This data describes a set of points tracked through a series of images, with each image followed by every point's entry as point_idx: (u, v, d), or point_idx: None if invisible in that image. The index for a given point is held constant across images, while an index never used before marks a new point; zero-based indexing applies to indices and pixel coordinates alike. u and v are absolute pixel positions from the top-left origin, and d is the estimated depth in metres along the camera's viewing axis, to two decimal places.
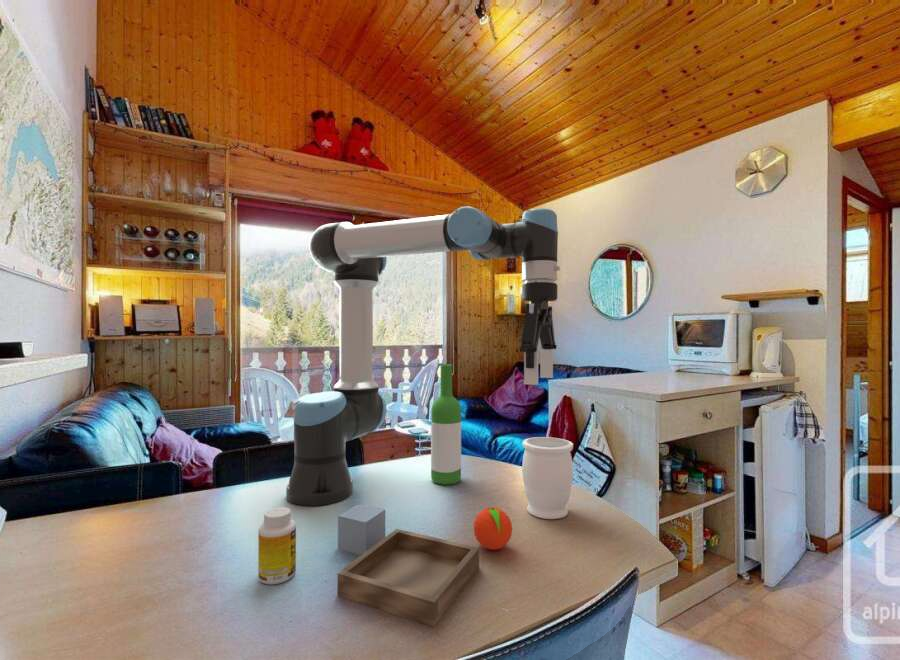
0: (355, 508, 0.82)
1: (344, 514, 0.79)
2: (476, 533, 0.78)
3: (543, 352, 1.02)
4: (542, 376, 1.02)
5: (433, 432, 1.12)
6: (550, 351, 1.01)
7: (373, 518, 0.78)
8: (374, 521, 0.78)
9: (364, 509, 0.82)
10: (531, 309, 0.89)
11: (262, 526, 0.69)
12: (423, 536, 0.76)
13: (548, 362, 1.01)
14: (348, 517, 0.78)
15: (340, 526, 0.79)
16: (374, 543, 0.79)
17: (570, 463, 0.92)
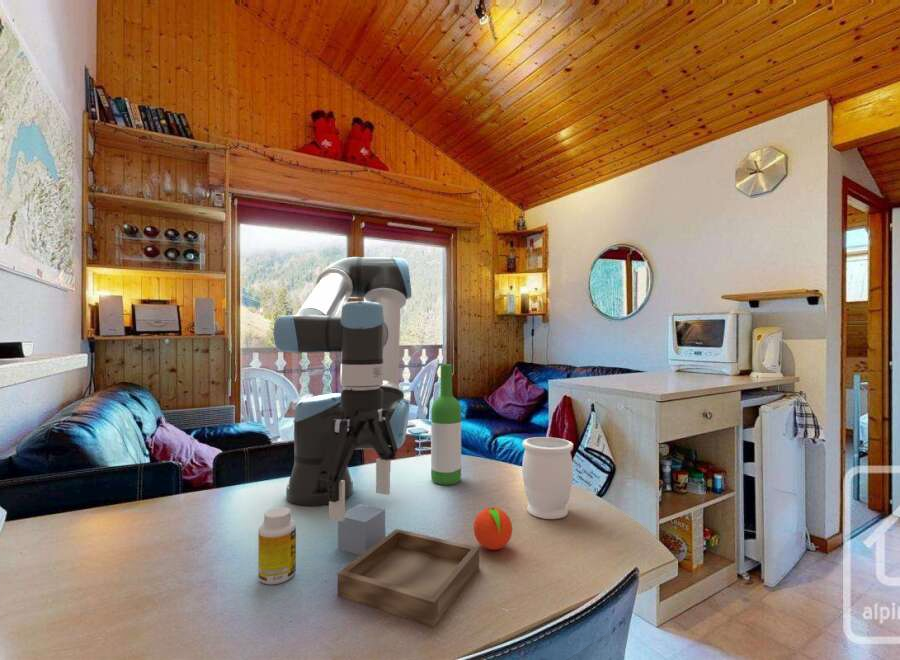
0: (355, 508, 0.82)
1: None
2: (476, 533, 0.78)
3: (379, 463, 0.86)
4: (378, 491, 0.86)
5: (433, 432, 1.12)
6: (386, 462, 0.85)
7: (373, 518, 0.78)
8: (374, 521, 0.78)
9: (364, 509, 0.82)
10: (337, 427, 0.74)
11: (262, 526, 0.69)
12: (423, 536, 0.76)
13: (384, 475, 0.85)
14: (348, 517, 0.78)
15: (340, 526, 0.79)
16: (374, 543, 0.79)
17: (570, 463, 0.92)
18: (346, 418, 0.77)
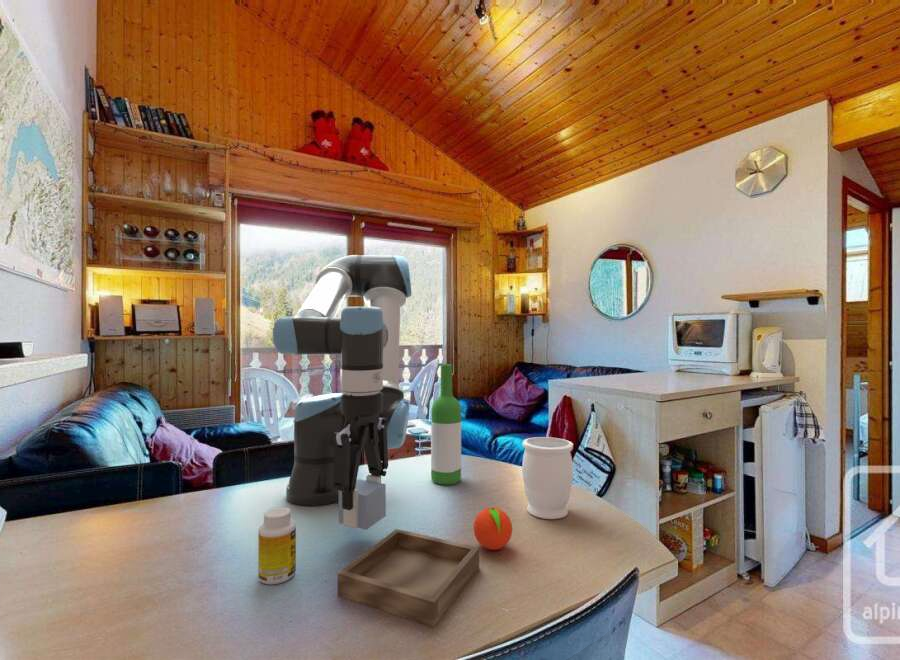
0: (356, 483, 0.82)
1: None
2: (476, 533, 0.78)
3: (369, 480, 0.84)
4: None
5: (433, 432, 1.12)
6: (376, 480, 0.83)
7: (373, 492, 0.79)
8: (374, 495, 0.79)
9: (365, 483, 0.82)
10: (339, 442, 0.74)
11: (262, 526, 0.69)
12: (423, 536, 0.76)
13: None
14: None
15: (340, 500, 0.79)
16: (375, 517, 0.79)
17: (570, 463, 0.92)
18: (345, 425, 0.77)
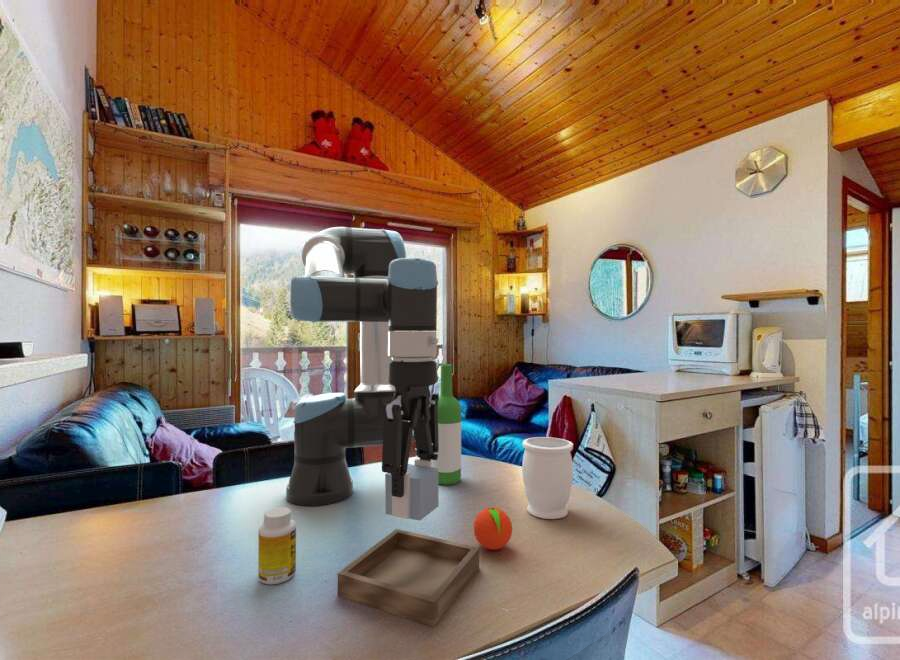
0: None
1: None
2: (476, 533, 0.78)
3: (418, 465, 0.72)
4: None
5: None
6: (427, 464, 0.71)
7: (426, 476, 0.67)
8: (428, 480, 0.67)
9: (414, 468, 0.70)
10: (389, 414, 0.63)
11: (262, 526, 0.69)
12: (423, 536, 0.76)
13: None
14: None
15: (388, 486, 0.67)
16: (428, 506, 0.67)
17: (570, 463, 0.92)
18: (395, 397, 0.65)
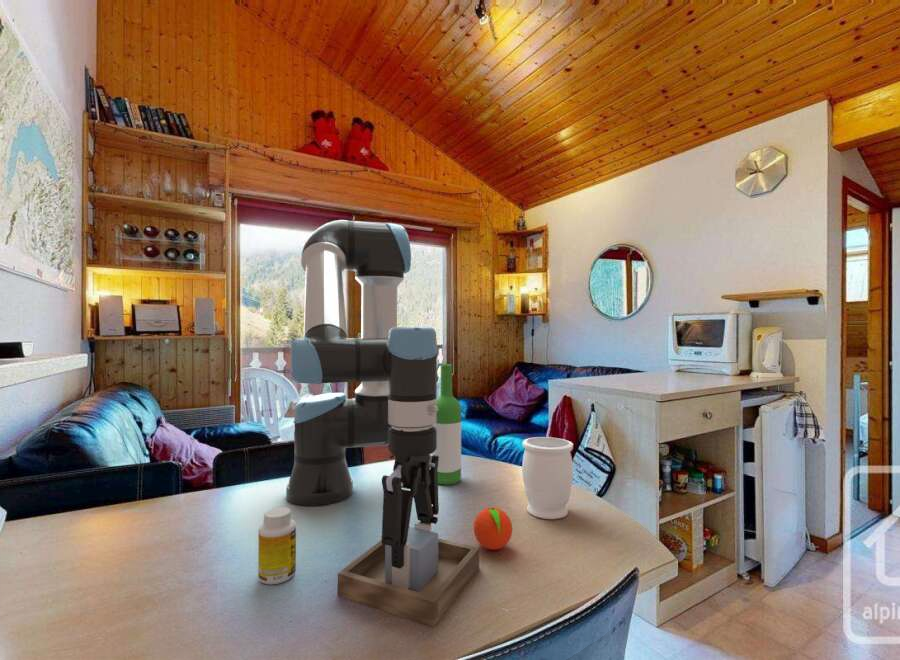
0: None
1: None
2: (476, 533, 0.78)
3: (418, 528, 0.72)
4: None
5: None
6: (427, 528, 0.71)
7: (426, 544, 0.67)
8: (427, 548, 0.67)
9: (414, 532, 0.70)
10: (389, 487, 0.63)
11: (262, 526, 0.69)
12: None
13: None
14: None
15: (388, 554, 0.67)
16: (428, 574, 0.67)
17: (570, 463, 0.92)
18: (395, 467, 0.65)
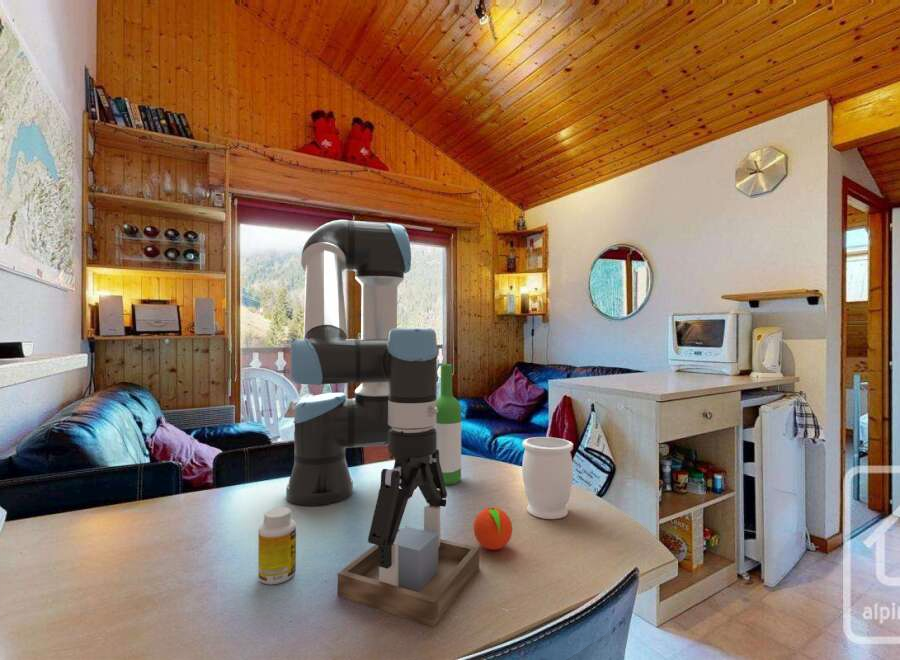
0: (403, 532, 0.70)
1: None
2: (476, 533, 0.78)
3: (427, 511, 0.75)
4: None
5: None
6: (436, 511, 0.74)
7: (426, 545, 0.67)
8: (427, 549, 0.67)
9: (414, 533, 0.70)
10: (388, 480, 0.62)
11: (262, 526, 0.69)
12: None
13: (433, 526, 0.74)
14: None
15: None
16: (428, 574, 0.67)
17: (570, 463, 0.92)
18: (396, 466, 0.65)
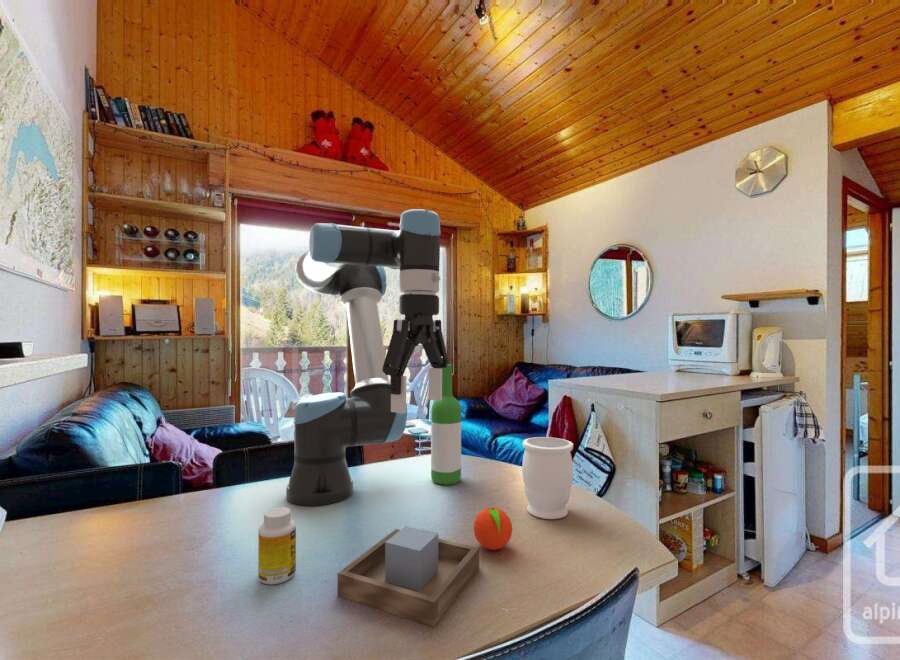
0: (403, 532, 0.70)
1: (392, 540, 0.68)
2: (476, 533, 0.78)
3: (431, 371, 0.90)
4: (430, 398, 0.90)
5: (433, 432, 1.12)
6: (438, 370, 0.89)
7: (426, 545, 0.67)
8: (427, 549, 0.67)
9: (414, 533, 0.70)
10: (399, 326, 0.78)
11: (262, 526, 0.69)
12: None
13: (436, 383, 0.90)
14: (397, 544, 0.67)
15: (388, 554, 0.67)
16: (428, 574, 0.67)
17: (570, 463, 0.92)
18: None
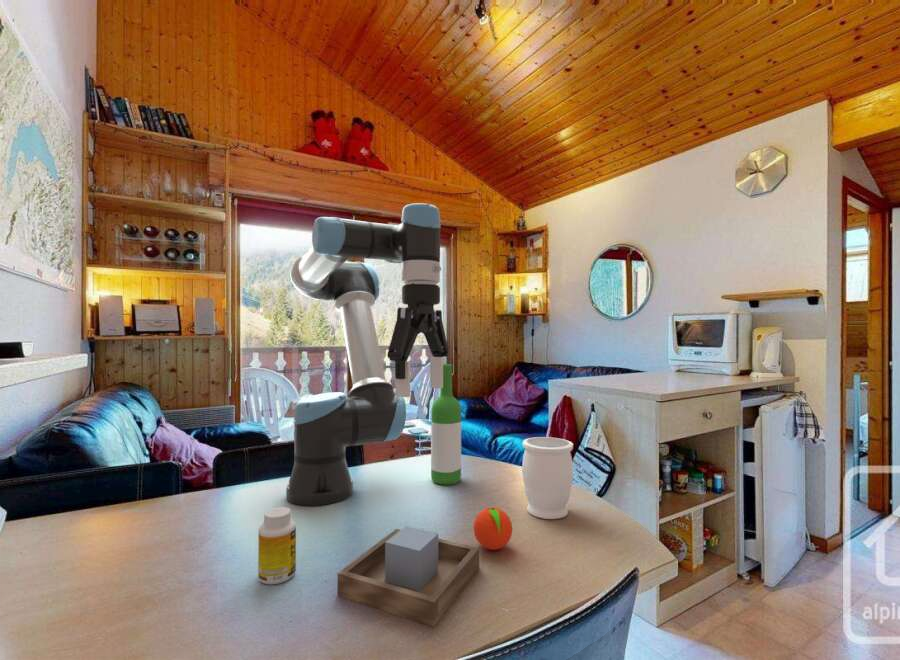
0: (403, 532, 0.70)
1: (392, 540, 0.68)
2: (476, 533, 0.78)
3: (433, 360, 0.93)
4: (432, 386, 0.94)
5: (433, 432, 1.12)
6: (439, 359, 0.93)
7: (426, 545, 0.67)
8: (427, 549, 0.67)
9: (414, 533, 0.70)
10: (402, 314, 0.81)
11: (262, 526, 0.69)
12: None
13: (437, 371, 0.93)
14: (397, 544, 0.67)
15: (388, 554, 0.67)
16: (428, 574, 0.67)
17: (570, 463, 0.92)
18: None
